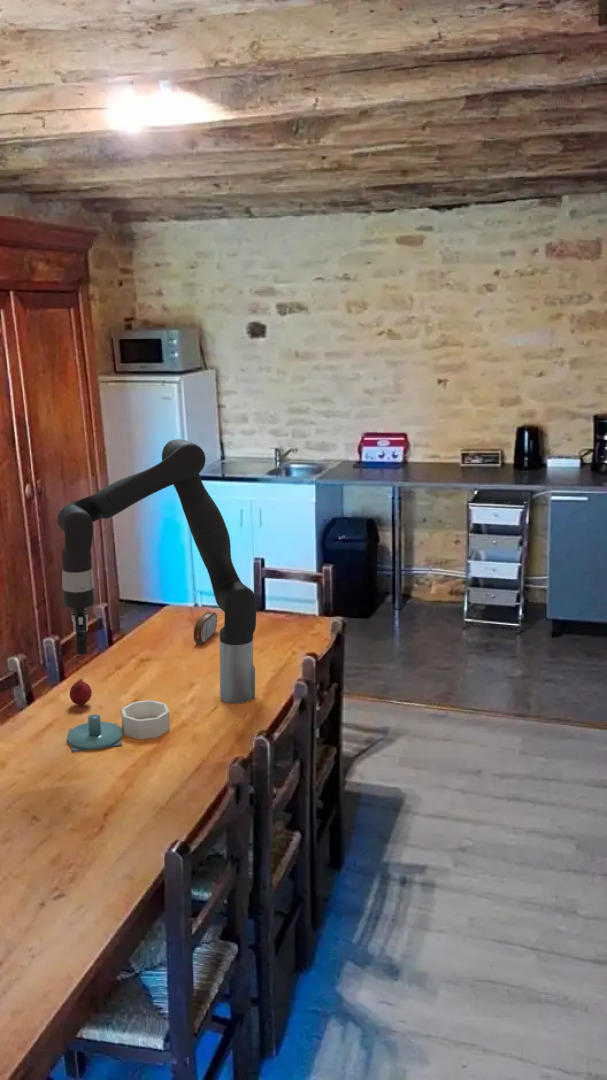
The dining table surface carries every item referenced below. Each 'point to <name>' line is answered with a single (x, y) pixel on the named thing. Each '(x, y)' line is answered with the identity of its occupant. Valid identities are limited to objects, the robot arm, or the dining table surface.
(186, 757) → the dining table surface
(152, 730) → the bowl
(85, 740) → the lid
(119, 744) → the mat
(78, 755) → the dining table surface
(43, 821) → the dining table surface
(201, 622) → the tin
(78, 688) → the onion
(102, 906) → the dining table surface
